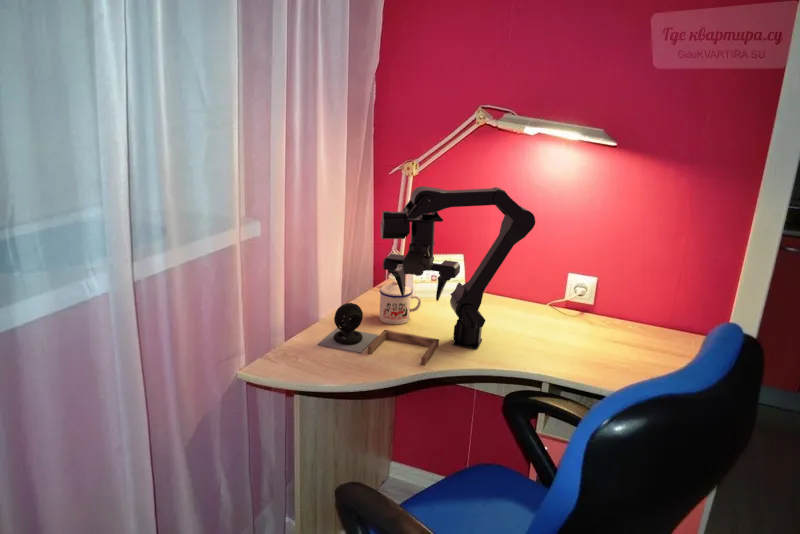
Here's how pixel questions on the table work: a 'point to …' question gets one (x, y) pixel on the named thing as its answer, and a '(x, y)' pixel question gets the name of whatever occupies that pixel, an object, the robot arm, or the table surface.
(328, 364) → the table surface
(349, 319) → the webcam
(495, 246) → the robot arm
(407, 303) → the teacup with lid
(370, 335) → the mat
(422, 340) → the holder
